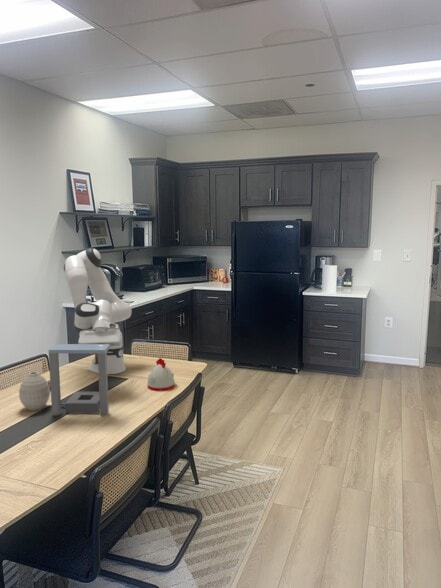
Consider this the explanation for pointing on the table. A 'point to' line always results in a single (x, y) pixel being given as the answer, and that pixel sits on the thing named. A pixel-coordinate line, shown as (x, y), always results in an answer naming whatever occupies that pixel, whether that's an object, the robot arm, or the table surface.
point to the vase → (34, 391)
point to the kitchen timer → (161, 377)
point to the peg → (96, 358)
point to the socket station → (80, 400)
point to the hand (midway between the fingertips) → (99, 353)
